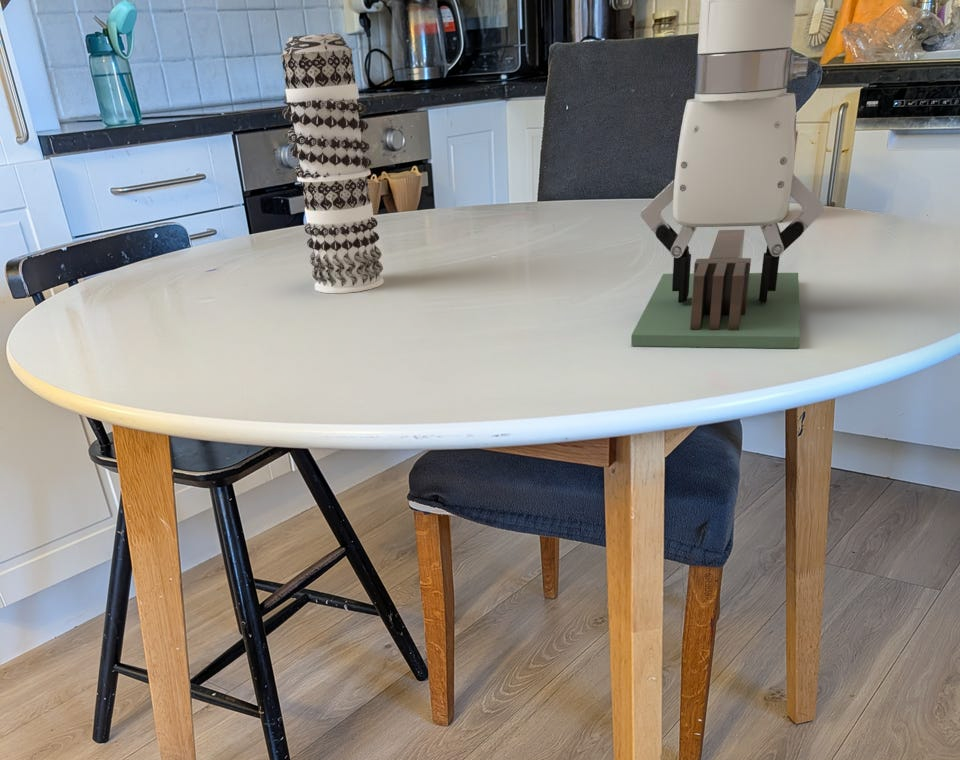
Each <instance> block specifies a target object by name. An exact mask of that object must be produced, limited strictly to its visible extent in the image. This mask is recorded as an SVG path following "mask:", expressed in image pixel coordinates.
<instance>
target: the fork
mask: <svg viewBox="0 0 960 760" xmlns="http://www.w3.org/2000/svg"><path fill="white" fill-rule="evenodd" d="M744 241H745V229H719V230H718V232H717V234H716V237H715V240H714V243H713V246H712V249H711V252H710V254H709V257H708V258H696V259H695V262H694V265H693V274H694V278H693V293H692V309H691V324H690V330H700V329H701V326H702V323H703V319H704V316H705V315H710V322H709V330H719V329H720V325H721V321H722V316H723V315H729V323H728V330H739V325H740V319H741V315H745V313H746V304H747V294H748V284H749V274H750V273H751V263H752V258H751V257H743V252H744V243H745V242H744Z"/></svg>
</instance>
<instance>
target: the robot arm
mask: <svg viewBox="0 0 960 760" xmlns="http://www.w3.org/2000/svg"><path fill="white" fill-rule="evenodd" d="M699 7H700V9H699V22H698V25H699V26H698V37H697V55H696V70H695V84H694V85H695V87H694V98H690V99H687V100H686V103H685V107H684V111H683V116H682V122H681V128H680V134H679V140H678V145H677V146H678V147H677V153H676V163H675V172H674V179H673V180H672V181H671V182H670V183H668V185H667V186H665V187H664V189H662V190H661V191H660V192H659V193H658V194H657V195H656V196H655V197H653V199H652V200H651V201H650V202H649V203H648V204H646V206H644V208H643V209H642V210H641V212H640V217H641V219H642V220H643V221H644V223H645V224H646V225H647V226H648V228H649V229H650V231H652V233H653V234H655V237H656V238H657V240H658V241H659V242H660V243H661V244H662V245H663V246H664V247H665V248H666V250H667V251H668V252H669V253H670V255H671V257H672V258H673V265H672V274H673V283H672V291H679V296H678V303H684V301H686V300H687V297H688V294H689V280H690V274H691V265H692V263H691V261H692V253H690V246H689V243H690V241H691V240H692V237H693V236H694V233H695V231H696V230H697V228H720V227H721V228H723V227H724V228H726V227H760V229H761V232H762V235H763V237H764V239H765V243H766V250H765V251H766V252H763V257H762V266H761V273H762V275H761V284H760V293H759V301H761V303H766V301H767V293H768V291H776V283H777V274H778V273H779V266H780V265H779V264H780V257H781V256H782V255H783V254H784V252H785V251H786V250H787V249H788V248H789V247H790V246H791V245H792V244H793V243H794V242H796V241H797V240H798V239H799V238H800V237H801V236H802V235H803V234H804V232H805V231H806V230H807V229H808V228H809V227H810V226H811V225H813V223H814V222H815V221H816V220H817V219H819V217H820V216H821V215H822V214H823V212H824V209H825V208H824V204H823V202H822V201H821V200H820V199H819V198H818V197H817V196H816V195H815V194H814V193H813V192H812V191H811V190H810V189H809V188H808V187H807V186H806V185H805V184H804V182H803V181H801V180H800V178H798V177H797V175H795V174H794V170H795V160H794V157H795V158H796V152H795V142H796V130H797V103H796V101H797V100H796V93H794V92H787V90H788V82H792V80H793V79H795V80H796V79H797V78H798V77H806V76H807V74H808V66H809V65H808V63H809V56H802V57H801V56H800V55H795V53H791V51H792V48H791V47H792V43H793V34H794V26H795V15H796V7H797V0H700V6H699ZM791 198H792V199H793V200H794V201H795V202H796V203H797V204H798V205H799V206H800V207H801V208H802V211H801V212H800V213H799V214H798V216H797V217H795V219H794V220H793V221H792V222H790V223H789V224H788V225H787V226H786V227H785V228H784V229H783V230H782V231H781V228H780V226H779V222H781V220H782V221H783V220H784V219H785V218H786V216H787V214H788V213H787V211H788V207H789V208H790V201H791ZM671 202H672V216H673V220H674V221H675V222H676V223H677V224H678V225H680V226H681V228H680V230H679V232H676V231H675V230H674V228H672V226H671V225H670V224H669V223H667V222H666V220H665V219H664V217H663V215H662V211H663V210H664V209H665V208H666V207H667V206H669V204H670V203H671ZM788 212H789V211H788Z"/></svg>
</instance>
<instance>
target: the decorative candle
mask: <svg viewBox="0 0 960 760" xmlns="http://www.w3.org/2000/svg"><path fill="white" fill-rule="evenodd" d="M279 57H281V61H282V68H283V75H284V80H285V87H286V88H285V89H284V91H285V97H286V100H285V101H282V102H283V104H285V105H286V107H285V108H284V109H283V110H282V113H281V114H282V117H283V119H285V120H286V121H288V122H290V123H291V122H292V123H293V124H292V126H291V127H290V128H289V130H288V131H287V133H286V136H287V138H288V140H290V141H291V142H292V143H293V145H291V147H290V148H289V152H290V155H291V156H292V157H293V158H296V160H299V163H297V165H296V167H295V168H294V169H293V170H294V173H295V175H296V181H297V182H299V183H300V182H301V186H302V193H303V199H304V205H305V207H304V214H305V215H304V216H305V220H306V223H307V224H306V225H305V226H304V232H305V233H306V234H307V235H309V236H310V238H308V239H307V241H306V244H307V247H308V248H309V249H312V253H311V254H310V255H309V259H308V260H309V263H310V264H311V266H312V267H313V268H312V270H311V276H312V277H313V279H314V280H315V281H316V282H315V283H314V290H315V291H316V292H318V293H325V294H349V293H358V292H364V291H369V290H372V289H375V288H378V287H380V286H382V285H383V284H384V283H385V280H384V277H383V276H382V275H380V274H381V273H382V272H383V270H384V267H383V264H382V262H381V261H379V260H380V259H381V257H382V252H381V249H380V248H379V247H378V246H376V242H378V241H379V240H380V235H379V234H378V233H377V231H374V229H375V228H377V227H378V221H377V219H376V218H375V217H374V209H373V202H372V201H371V196H370V189H369V182H368V176H370V175H371V174H372V172H371V170H370V168H368V167H370V166H371V165H372V160H371V159H370V158H368V157H367V156H366V155H364V154H365V153H367V152H368V151H369V150H370V144H369V143H368V142H367V141H365V140H364V139H363V138H362V135H363V134H364V133H365V132H366V131H367V130H368V128H369V124H368V123H367V122H366V121H365V120H363V119H362V117H363V116H364V115H365V114H366V113H367V107H366V106H365V105H364V104H362V103H361V102H360V100H358V99H360V94H359V87H358V85H359V84H358V83H357V82H356V75H355V66H354V60H353V49H352V48H350V47H349V45H348V44H347V42H346V40H345V39H344V37H343V36H342V35H340V34H339V33H320V34H319V33H317V34H306V35H296V36H290V37H288V39H287V41H286V43H285V46H284V50H283V52H282V54H280V55H279Z"/></svg>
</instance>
